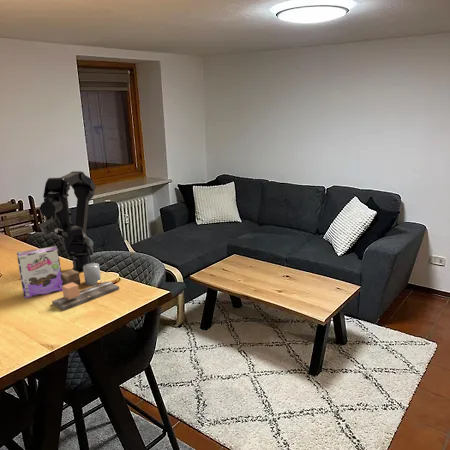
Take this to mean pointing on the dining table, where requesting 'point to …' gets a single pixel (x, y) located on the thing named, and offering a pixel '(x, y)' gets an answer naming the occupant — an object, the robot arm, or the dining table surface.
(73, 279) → the walnut block
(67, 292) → the peach cube
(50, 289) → the candy box
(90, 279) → the grey rounded cylinder
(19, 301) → the dining table surface
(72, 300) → the board
